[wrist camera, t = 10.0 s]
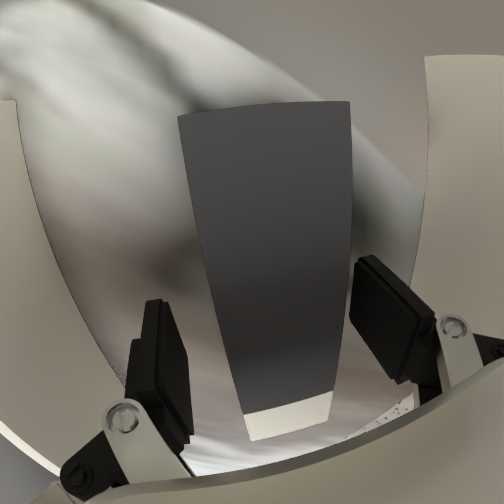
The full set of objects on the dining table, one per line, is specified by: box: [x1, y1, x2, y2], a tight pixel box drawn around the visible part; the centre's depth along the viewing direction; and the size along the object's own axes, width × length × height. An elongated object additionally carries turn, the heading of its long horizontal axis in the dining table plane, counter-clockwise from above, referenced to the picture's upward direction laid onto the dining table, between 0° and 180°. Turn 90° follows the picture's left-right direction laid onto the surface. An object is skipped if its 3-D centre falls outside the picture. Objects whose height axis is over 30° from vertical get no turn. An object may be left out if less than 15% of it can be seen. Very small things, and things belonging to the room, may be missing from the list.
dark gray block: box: [177, 101, 352, 441], centre depth 11 cm, size 4×14×5 cm, turn 6°
